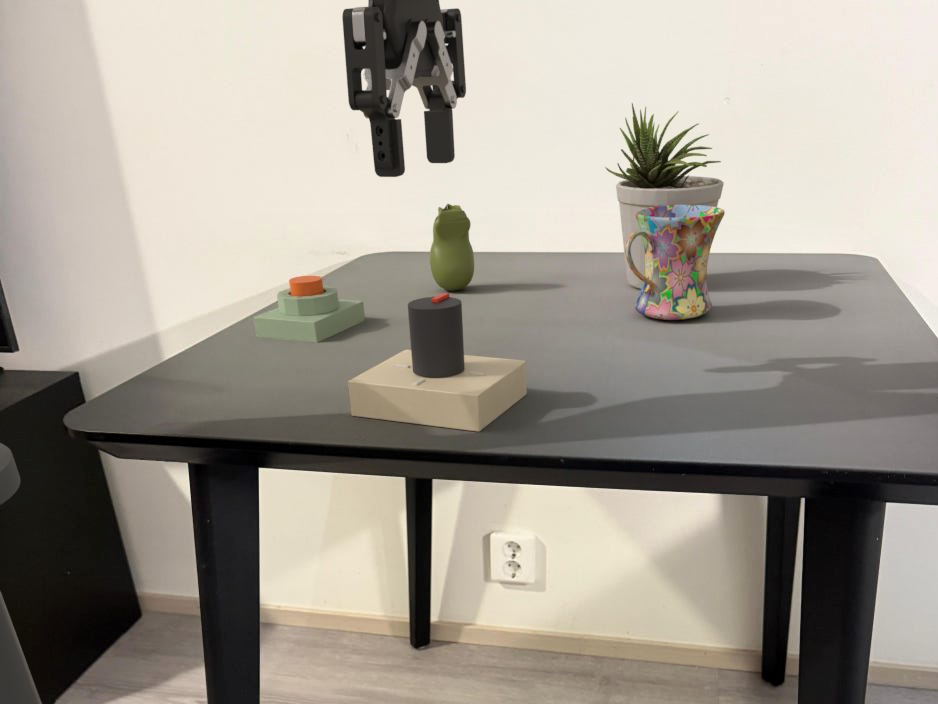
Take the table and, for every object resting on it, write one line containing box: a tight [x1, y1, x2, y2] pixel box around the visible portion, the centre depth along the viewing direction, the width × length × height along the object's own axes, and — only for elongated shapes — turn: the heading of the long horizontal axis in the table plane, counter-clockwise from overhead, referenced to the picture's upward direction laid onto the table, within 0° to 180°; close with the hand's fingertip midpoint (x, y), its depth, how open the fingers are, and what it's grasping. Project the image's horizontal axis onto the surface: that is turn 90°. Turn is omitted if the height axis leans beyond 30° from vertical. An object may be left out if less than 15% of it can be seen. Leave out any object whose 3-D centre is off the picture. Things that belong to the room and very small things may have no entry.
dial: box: [407, 292, 465, 378], centre depth 77 cm, size 4×4×6 cm
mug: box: [624, 205, 725, 321], centre depth 100 cm, size 12×9×11 cm
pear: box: [429, 203, 475, 292], centre depth 115 cm, size 6×5×10 cm
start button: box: [288, 275, 324, 296], centre depth 101 cm, size 4×4×2 cm
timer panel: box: [347, 349, 528, 433], centre depth 79 cm, size 10×12×3 cm
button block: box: [252, 285, 366, 343], centre depth 103 cm, size 10×8×4 cm
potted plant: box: [604, 102, 725, 290], centre depth 111 cm, size 13×14×20 cm
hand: (416, 169), depth 72 cm, fingers open, 8 cm apart
